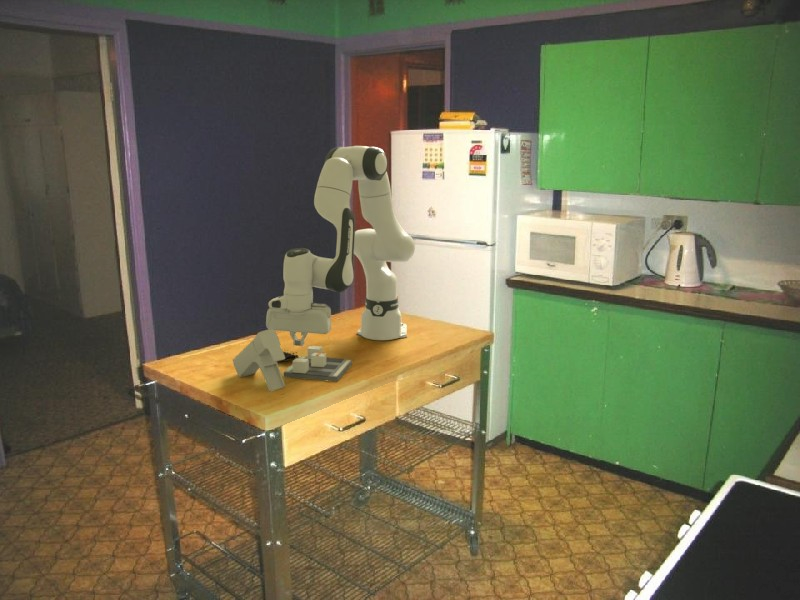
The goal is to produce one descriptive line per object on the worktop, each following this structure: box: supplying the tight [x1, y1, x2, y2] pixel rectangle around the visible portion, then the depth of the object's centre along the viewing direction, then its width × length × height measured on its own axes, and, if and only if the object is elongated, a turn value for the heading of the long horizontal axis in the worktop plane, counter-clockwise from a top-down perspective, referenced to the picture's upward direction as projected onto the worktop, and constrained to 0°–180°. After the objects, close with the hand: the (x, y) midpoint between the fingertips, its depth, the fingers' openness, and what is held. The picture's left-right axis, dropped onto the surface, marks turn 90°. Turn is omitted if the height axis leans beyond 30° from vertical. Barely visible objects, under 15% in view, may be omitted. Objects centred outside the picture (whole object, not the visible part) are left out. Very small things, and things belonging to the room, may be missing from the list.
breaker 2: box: [306, 345, 323, 359], centre depth 214 cm, size 3×4×4 cm
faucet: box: [232, 329, 286, 392], centre depth 196 cm, size 6×16×20 cm
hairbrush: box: [277, 348, 299, 363], centre depth 223 cm, size 8×4×25 cm
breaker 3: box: [311, 352, 327, 367], centre depth 207 cm, size 3×4×4 cm
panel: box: [283, 355, 353, 382], centre depth 208 cm, size 17×17×2 cm
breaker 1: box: [292, 357, 309, 373], centre depth 202 cm, size 3×4×4 cm
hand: (298, 345), depth 207 cm, fingers closed
